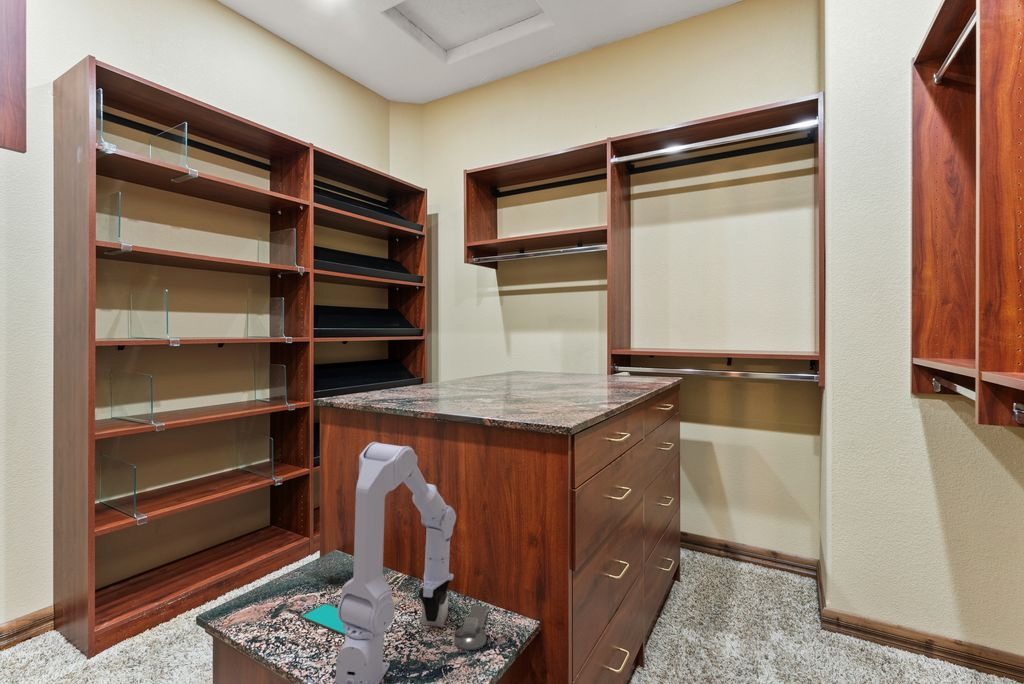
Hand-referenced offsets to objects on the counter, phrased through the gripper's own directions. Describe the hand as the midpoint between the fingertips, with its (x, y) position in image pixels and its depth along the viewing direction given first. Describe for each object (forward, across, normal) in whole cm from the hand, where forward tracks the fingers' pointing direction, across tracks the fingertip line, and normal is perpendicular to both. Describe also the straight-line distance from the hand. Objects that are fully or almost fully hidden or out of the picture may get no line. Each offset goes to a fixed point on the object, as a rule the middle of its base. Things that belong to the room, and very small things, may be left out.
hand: (434, 614), depth 112 cm
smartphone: (+2, -4, +23) cm, 23 cm away
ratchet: (+1, -3, -10) cm, 11 cm away
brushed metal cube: (+1, 0, 0) cm, 1 cm away
